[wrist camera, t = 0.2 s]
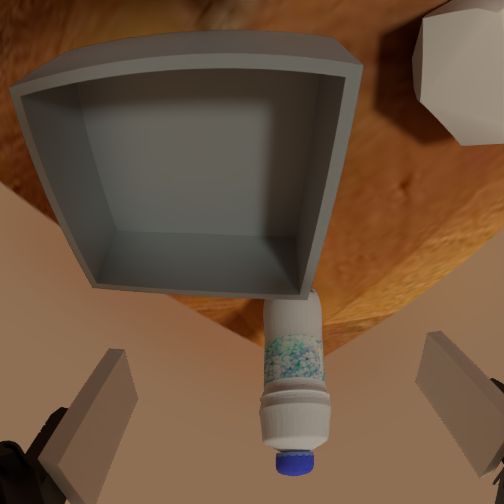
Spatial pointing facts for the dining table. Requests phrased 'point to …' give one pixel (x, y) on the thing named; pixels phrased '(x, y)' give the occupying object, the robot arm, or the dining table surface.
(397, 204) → the dining table surface
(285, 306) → the bottle
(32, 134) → the tray
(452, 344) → the robot arm
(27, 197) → the dining table surface
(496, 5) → the turret
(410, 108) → the dining table surface
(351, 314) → the dining table surface
